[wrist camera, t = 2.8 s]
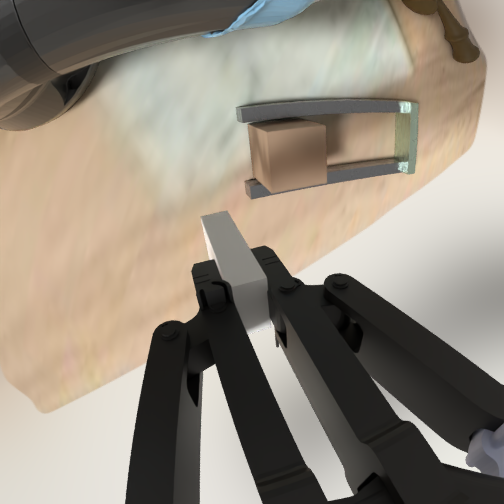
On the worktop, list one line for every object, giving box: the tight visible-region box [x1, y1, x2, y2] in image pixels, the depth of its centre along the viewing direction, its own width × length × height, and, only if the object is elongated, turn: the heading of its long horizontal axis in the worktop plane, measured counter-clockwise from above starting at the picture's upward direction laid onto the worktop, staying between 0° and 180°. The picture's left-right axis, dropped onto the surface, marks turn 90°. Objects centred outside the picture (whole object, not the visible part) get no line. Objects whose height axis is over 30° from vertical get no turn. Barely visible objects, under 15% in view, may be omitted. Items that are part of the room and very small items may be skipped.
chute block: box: [248, 118, 327, 193], centre depth 30 cm, size 6×6×6 cm
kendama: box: [402, 0, 480, 63], centre depth 24 cm, size 6×10×20 cm
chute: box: [236, 99, 418, 199], centre depth 33 cm, size 10×24×3 cm, turn 96°
